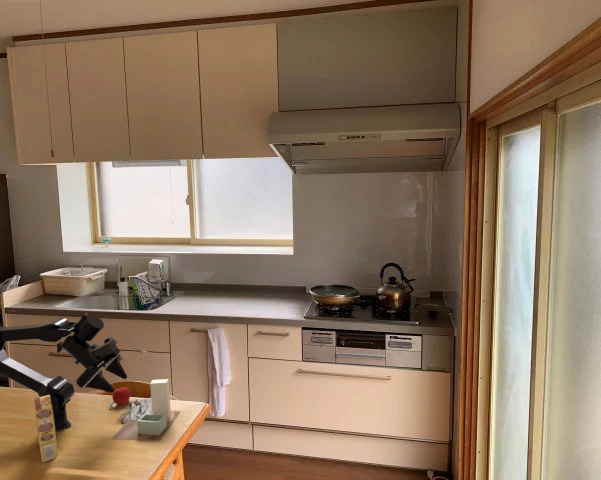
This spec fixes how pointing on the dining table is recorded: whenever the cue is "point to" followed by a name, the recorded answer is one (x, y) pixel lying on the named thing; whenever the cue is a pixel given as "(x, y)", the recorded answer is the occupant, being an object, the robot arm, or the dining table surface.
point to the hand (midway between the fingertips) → (120, 384)
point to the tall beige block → (160, 397)
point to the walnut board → (131, 433)
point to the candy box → (46, 428)
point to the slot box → (152, 424)
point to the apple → (120, 397)
